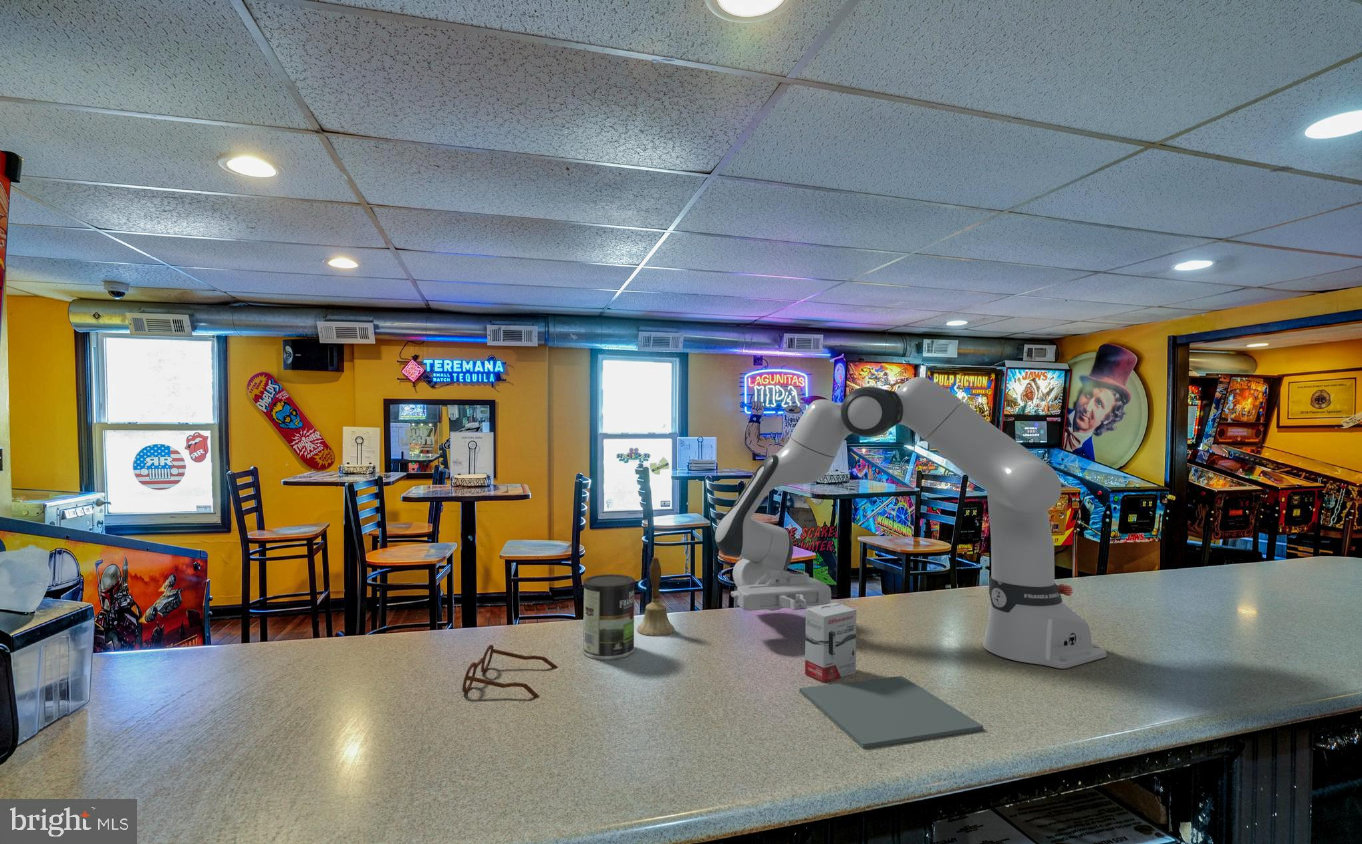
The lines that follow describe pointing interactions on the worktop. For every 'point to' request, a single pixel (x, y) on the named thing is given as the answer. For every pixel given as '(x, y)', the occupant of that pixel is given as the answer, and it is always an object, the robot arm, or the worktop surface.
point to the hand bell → (655, 608)
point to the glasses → (498, 684)
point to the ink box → (830, 642)
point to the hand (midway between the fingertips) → (800, 605)
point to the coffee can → (608, 616)
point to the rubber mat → (888, 711)
